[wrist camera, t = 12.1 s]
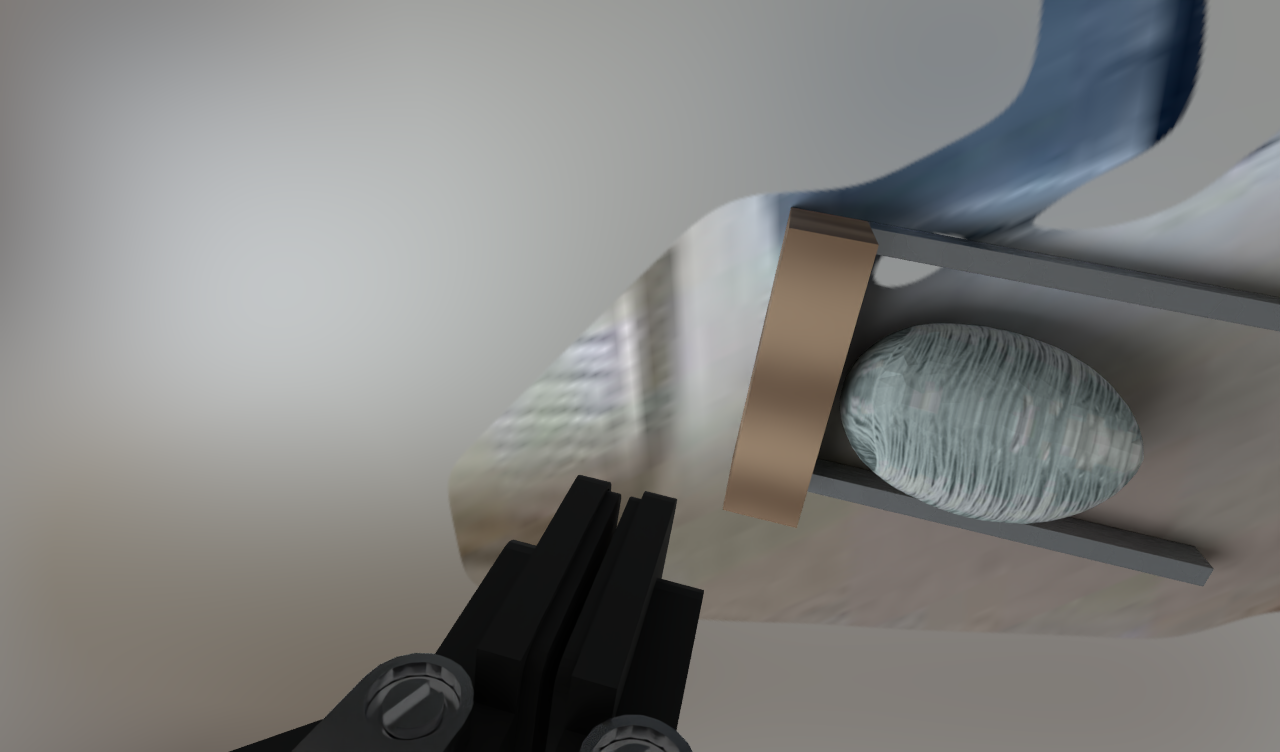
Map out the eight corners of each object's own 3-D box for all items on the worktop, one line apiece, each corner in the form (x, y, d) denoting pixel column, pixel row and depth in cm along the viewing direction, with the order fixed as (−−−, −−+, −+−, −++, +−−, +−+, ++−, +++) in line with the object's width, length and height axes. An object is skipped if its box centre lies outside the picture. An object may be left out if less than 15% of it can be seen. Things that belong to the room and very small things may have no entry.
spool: (792, 467, 39) (882, 498, 29) (835, 303, 39) (937, 279, 30) (1006, 524, 41) (1158, 571, 31) (1045, 367, 41) (1206, 365, 32)
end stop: (791, 207, 37) (789, 227, 31) (867, 221, 36) (878, 244, 31) (732, 456, 43) (722, 509, 38) (797, 471, 43) (796, 528, 37)
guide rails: (867, 221, 36) (870, 228, 35) (1334, 307, 33) (1364, 320, 32) (797, 471, 43) (797, 488, 41) (1185, 563, 40) (1203, 586, 38)
